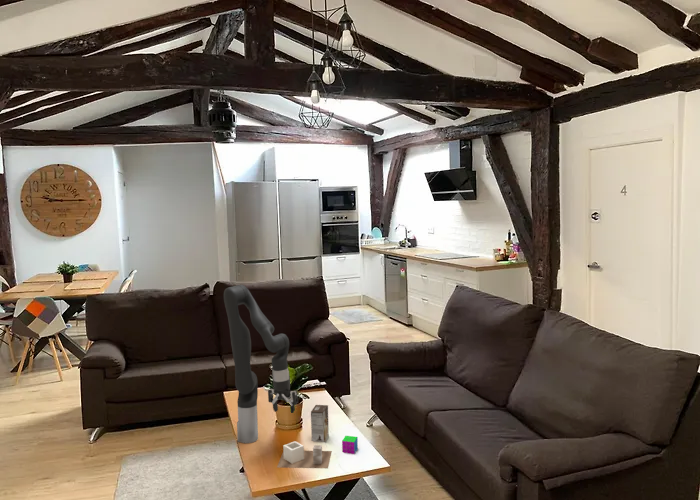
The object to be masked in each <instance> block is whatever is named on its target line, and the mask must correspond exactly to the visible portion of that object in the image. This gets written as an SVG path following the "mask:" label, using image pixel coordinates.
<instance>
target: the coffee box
mask: <svg viewBox="0 0 700 500" xmlns="http://www.w3.org/2000/svg"><path fill="white" fill-rule="evenodd" d="M310 423H311V424H310V429H311V434H310V435H311V442H319V443H324V444H326V443H327V441H328V440H329V439H328V438H329V437H330V434H329V433H330V431H329V429H330V428H329V427H330V426H329V405H326V404H315V406H314V407H313V408H312V409H311V411H310Z"/></svg>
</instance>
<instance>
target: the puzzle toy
mask: <svg viewBox="0 0 700 500" xmlns="http://www.w3.org/2000/svg"><path fill="white" fill-rule="evenodd" d="M358 442H359V440H358V436H352V435H345V436H344V437H343V439H342V442H341V444H342V445H341V446H342V447H341V448H342V449H341V450H342V453H344V454H351V455H355V454H356V452H357V450H358V449H359V448H358V447H359V446H358Z"/></svg>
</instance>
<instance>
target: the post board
mask: <svg viewBox="0 0 700 500" xmlns="http://www.w3.org/2000/svg"><path fill="white" fill-rule="evenodd" d="M332 452H333V451H332V450H323V445H322V444H319V445H318V444H317V445H316V444H313V448H312V450H304V459H303V460H300V461H298V462H295V463H293V464H292V463H290V462H289V461H287V460H285V459H284V450H283V452H282V454H281V457H280V458H279V461H278V464H277V466H276V468H280V469H281V468H289V469H291V468H292V469H296V468H297V469H329V465H330V462H331V458H332V457H331V456H332Z"/></svg>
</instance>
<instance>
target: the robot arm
mask: <svg viewBox="0 0 700 500" xmlns="http://www.w3.org/2000/svg"><path fill="white" fill-rule="evenodd" d="M223 302H224V307H225V311H226V315H227V320H228V326H229V336H230V344H231V345H230V346H231V349H232V351H231V352H232V357H233V363H234V374H235V375H234V377H235V380H234V381H235V383H234V384H235V388H236V390H237V391H238V397H237V422H236V432H237V433H236V436H237V437H236V438H237V442H238V443H239V442H240V443H241V444H251V443H255V442H256V441H258V440H259V429H258V428H259V426H258V424H259V422H258V396H259V395H258V391H259V390H258V389H259V387H258V377H257V374H256V373H255V372H254V371H252V367H251V356H252V339H251V333H250V329H249V328H248V326H247V325H246V323H245V322H244V321H243V319H242V318H241V316H240V312H239V306H241V305H244V306H245V307H246V308H247V310H248V312H249V315H250V323H251V324H252V326H253V328H254V329H255V330H256V331H257V333H258V334H259V335H260V336H261V338H262V341H263V344H264V346H265V348H266V349H267V350H268V351H269V352H270V353H274V354H275V353H276V354H275V355H273V356H272V357H271V369H272V370H271V371H272V373H271V374H272V375H271V376H272V384H273V388H272V387H271V388H270V389H268V390H267V395H268V397H267V398H268V403H271V404H272V409H273V411H274V412H276V413H277V412H278V411H279V408H278V407H279V406H278V400H279V401H285V402H286V403H289V404H290V405H291V406H290V412H291V413H294V411H295V405H296V406H297V404H298V403H299V397H298V391H297V390H291V381H290V371H289V364H288V357H289V349H290V340H289V337H288V336H287V334H285V333H278V334H276V335H273V333H274V332H275V327H274V325H273V324H272V322H271V321H270V320H269V319H268V318H267V316H266V315H265V314H264V313H263V312H262V310H261V308H260V306H259V305H258V302H257V301H256V300H255V298H254V296H253V295H252V293H251V291H250V290H249V288H248V287H247V286H246V285H244V284H237V285H234V286H233V285H232V286H229V287H227V288H225V289H224V291H223ZM274 395H275V396H274Z"/></svg>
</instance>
